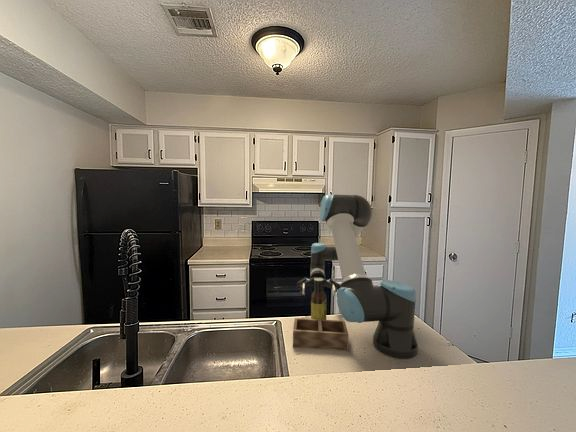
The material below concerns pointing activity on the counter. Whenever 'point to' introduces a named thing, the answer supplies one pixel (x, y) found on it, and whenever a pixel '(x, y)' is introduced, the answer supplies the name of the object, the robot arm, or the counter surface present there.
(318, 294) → the sauce bottle
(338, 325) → the wooden divided box
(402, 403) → the counter surface
